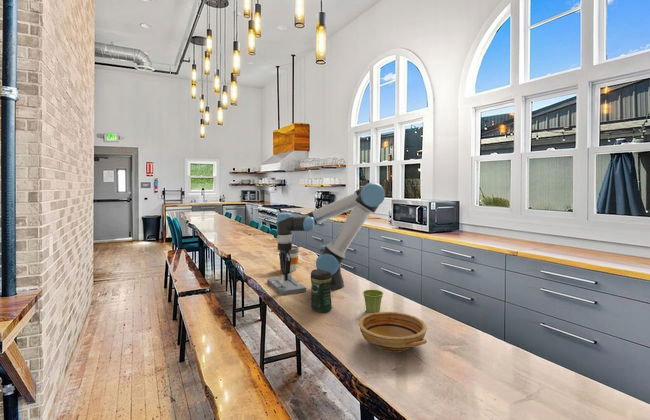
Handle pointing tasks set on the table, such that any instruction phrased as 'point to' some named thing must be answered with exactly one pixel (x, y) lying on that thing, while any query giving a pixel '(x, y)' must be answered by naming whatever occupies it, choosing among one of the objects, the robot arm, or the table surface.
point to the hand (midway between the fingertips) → (285, 285)
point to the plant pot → (373, 300)
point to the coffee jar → (321, 290)
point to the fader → (290, 276)
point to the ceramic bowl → (393, 330)
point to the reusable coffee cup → (293, 258)
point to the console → (291, 288)
